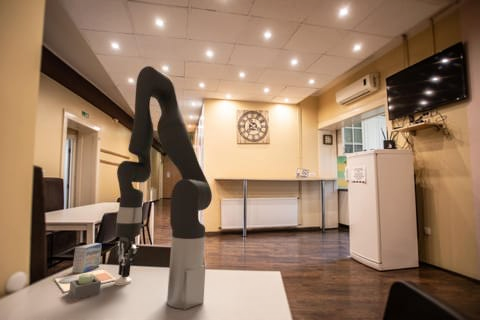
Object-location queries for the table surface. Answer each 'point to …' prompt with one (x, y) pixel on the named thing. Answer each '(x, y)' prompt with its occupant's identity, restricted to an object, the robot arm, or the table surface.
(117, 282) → the chess piece
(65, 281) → the sheet
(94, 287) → the button box
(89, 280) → the button
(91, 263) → the medicine box
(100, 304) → the table surface
